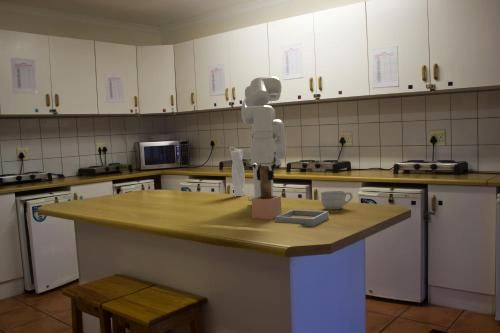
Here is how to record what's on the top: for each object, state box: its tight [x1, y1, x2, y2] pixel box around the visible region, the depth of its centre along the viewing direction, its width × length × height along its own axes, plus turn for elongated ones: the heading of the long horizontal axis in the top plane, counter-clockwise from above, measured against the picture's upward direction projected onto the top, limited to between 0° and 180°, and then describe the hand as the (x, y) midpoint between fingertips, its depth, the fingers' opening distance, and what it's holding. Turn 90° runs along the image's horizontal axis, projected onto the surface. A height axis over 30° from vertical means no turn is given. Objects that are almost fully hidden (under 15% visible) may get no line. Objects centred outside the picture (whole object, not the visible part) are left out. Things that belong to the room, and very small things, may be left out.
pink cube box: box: [251, 195, 283, 220], centre depth 197 cm, size 9×9×9 cm
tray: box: [274, 209, 330, 227], centre depth 189 cm, size 16×16×3 cm
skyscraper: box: [229, 146, 246, 198], centre depth 266 cm, size 8×8×28 cm
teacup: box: [320, 190, 354, 210], centre depth 212 cm, size 14×11×8 cm
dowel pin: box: [259, 165, 272, 199], centre depth 197 cm, size 4×4×15 cm
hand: (265, 179), depth 196 cm, fingers closed on dowel pin, 4 cm apart
